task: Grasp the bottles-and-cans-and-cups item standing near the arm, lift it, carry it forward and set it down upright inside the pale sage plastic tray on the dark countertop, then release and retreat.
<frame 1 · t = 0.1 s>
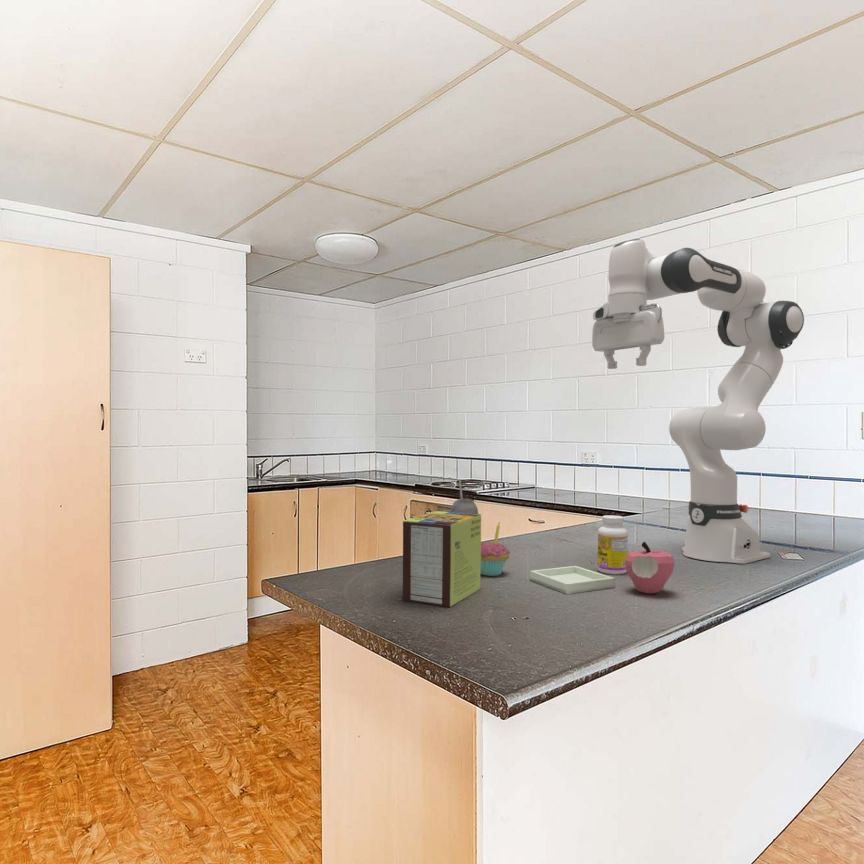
hand: (626, 367, 151), 48 cm above the worktop, fingers open, 8 cm apart
tray: (571, 583, 135), on the worktop
apple: (649, 593, 129), on the worktop
supplement bottle: (612, 572, 147), on the worktop
protein box: (442, 595, 126), on the worktop
cupcake: (490, 574, 144), on the worktop
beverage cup: (463, 561, 157), on the worktop
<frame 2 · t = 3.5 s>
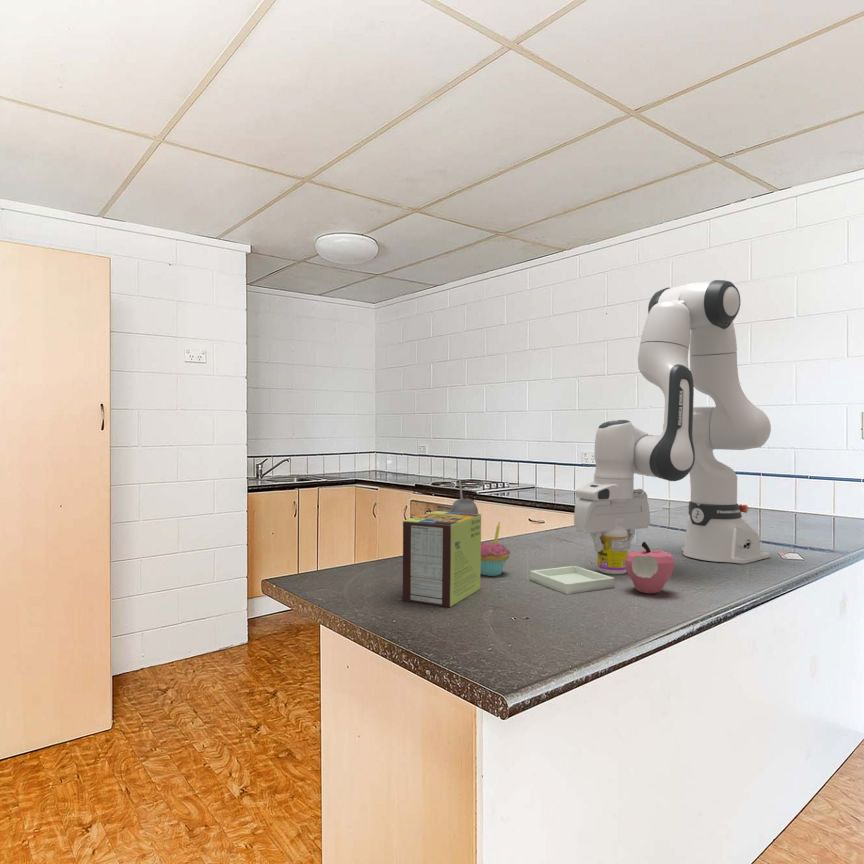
hand: (612, 549, 147), 5 cm above the worktop, fingers closed on supplement bottle, 7 cm apart
supplement bottle: (612, 572, 147), on the worktop, touching gripper
everything else where it was.
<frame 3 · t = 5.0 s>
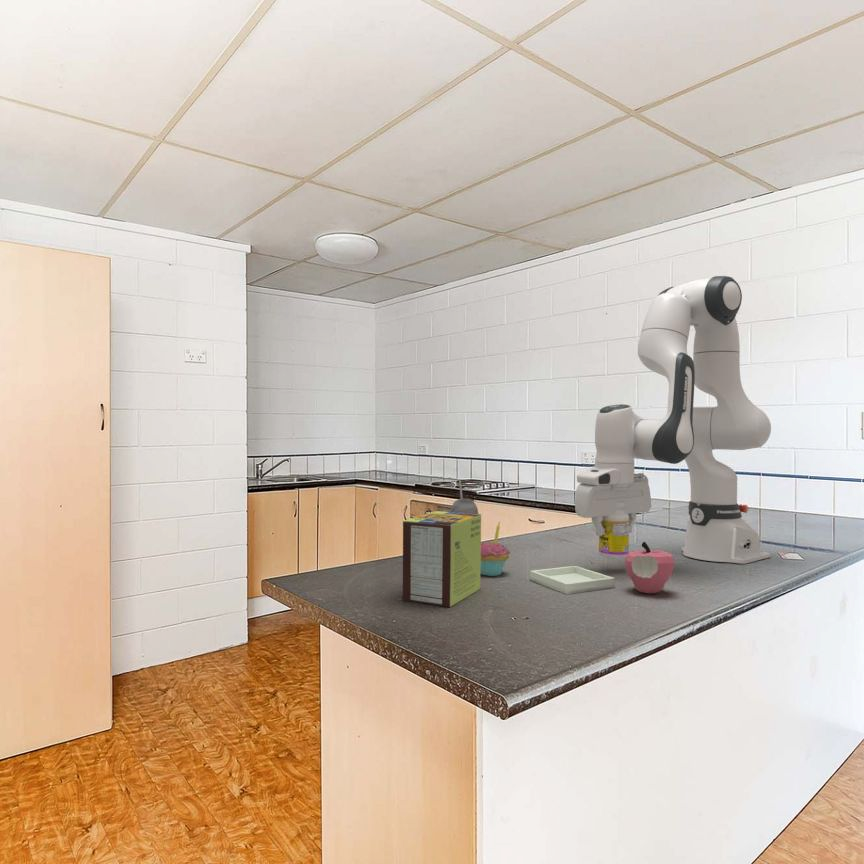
hand: (614, 534, 147), 9 cm above the worktop, fingers closed on supplement bottle, 7 cm apart
supplement bottle: (613, 557, 148), point 3 cm above the worktop, touching gripper
everything else where it was.
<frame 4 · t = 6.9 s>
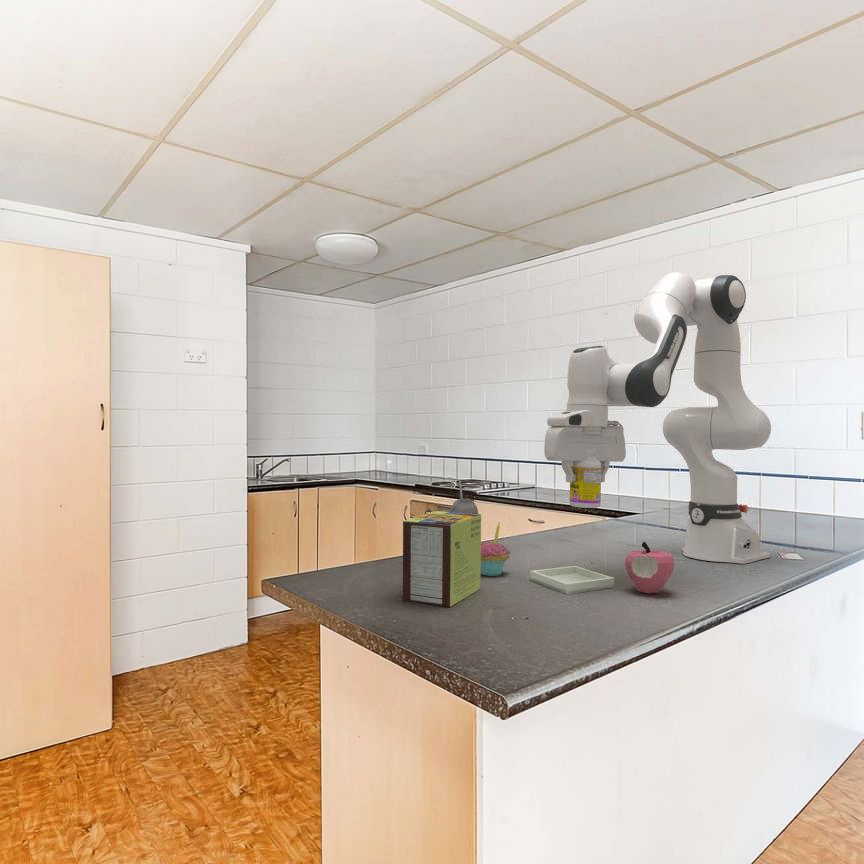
hand: (585, 482, 139), 21 cm above the worktop, fingers closed on supplement bottle, 7 cm apart
supplement bottle: (584, 507, 139), point 16 cm above the worktop, touching gripper
everything else where it was.
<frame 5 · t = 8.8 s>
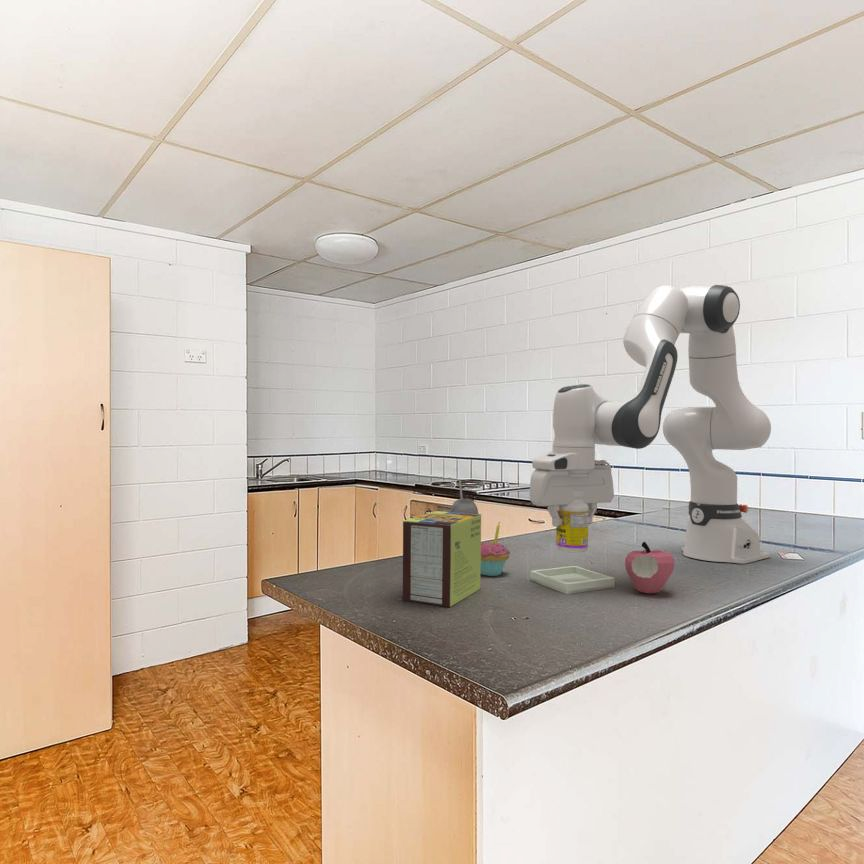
hand: (572, 525, 135), 13 cm above the worktop, fingers closed on supplement bottle, 7 cm apart
supplement bottle: (571, 551, 135), point 7 cm above the worktop, touching gripper
everything else where it was.
when the fingers open (7 cm above the worktop, at t = 10.3 s): supplement bottle drops 1 cm, resting on tray.
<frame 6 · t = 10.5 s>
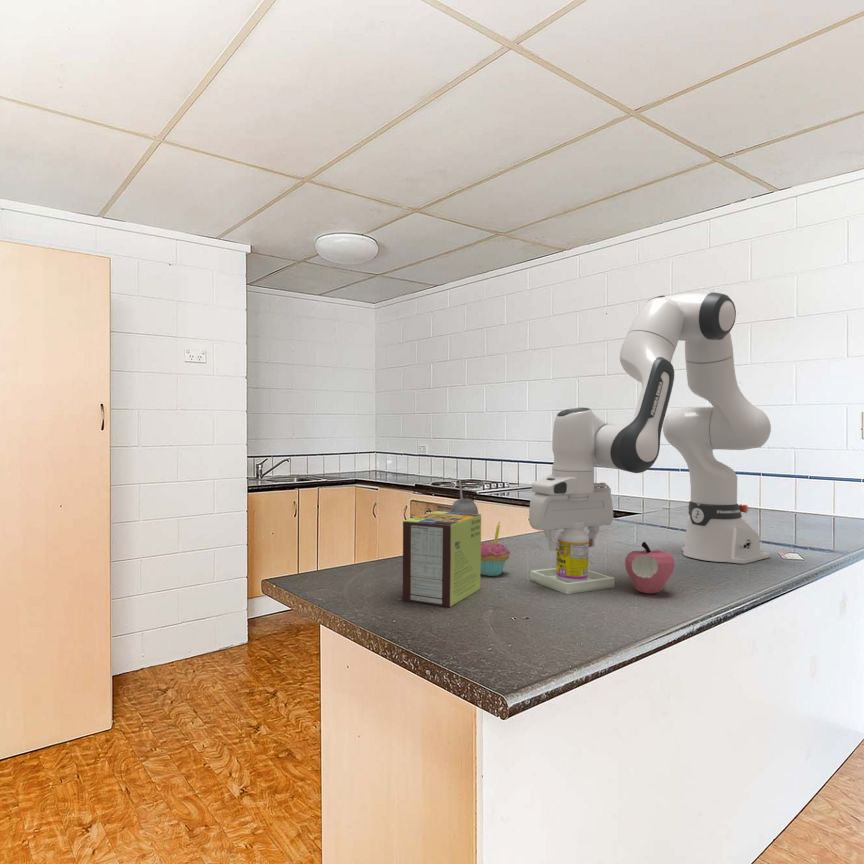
hand: (571, 548, 135), 8 cm above the worktop, fingers open, 8 cm apart
supplement bottle: (571, 581, 136), resting on tray
everything else where it was.
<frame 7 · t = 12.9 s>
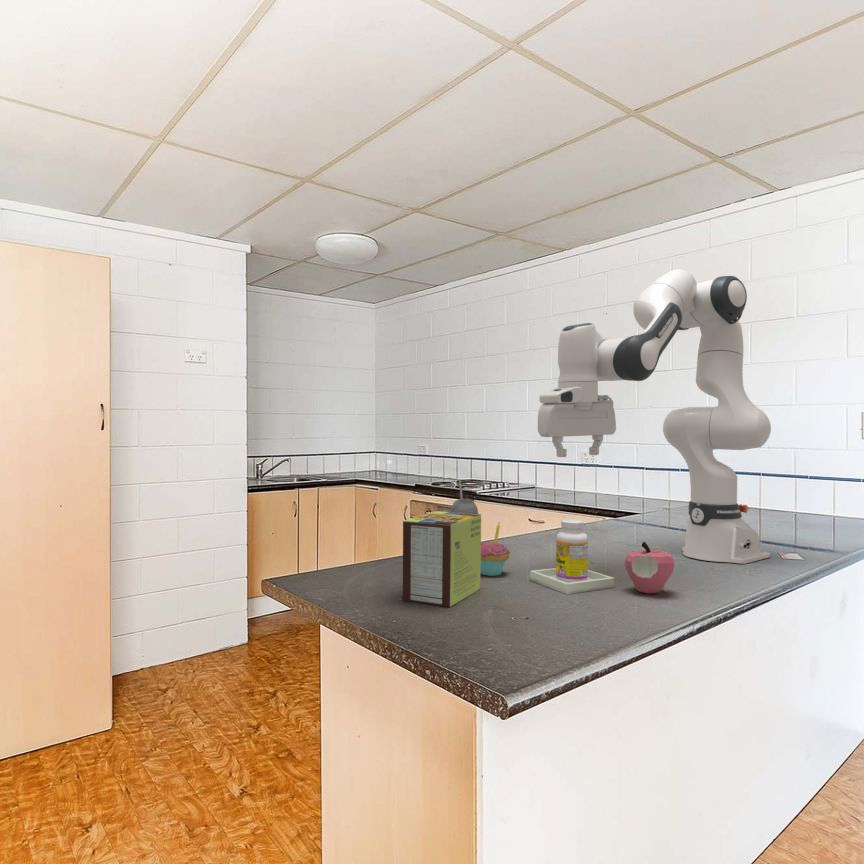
hand: (578, 455, 144), 27 cm above the worktop, fingers open, 8 cm apart
nothing on the worktop moved.
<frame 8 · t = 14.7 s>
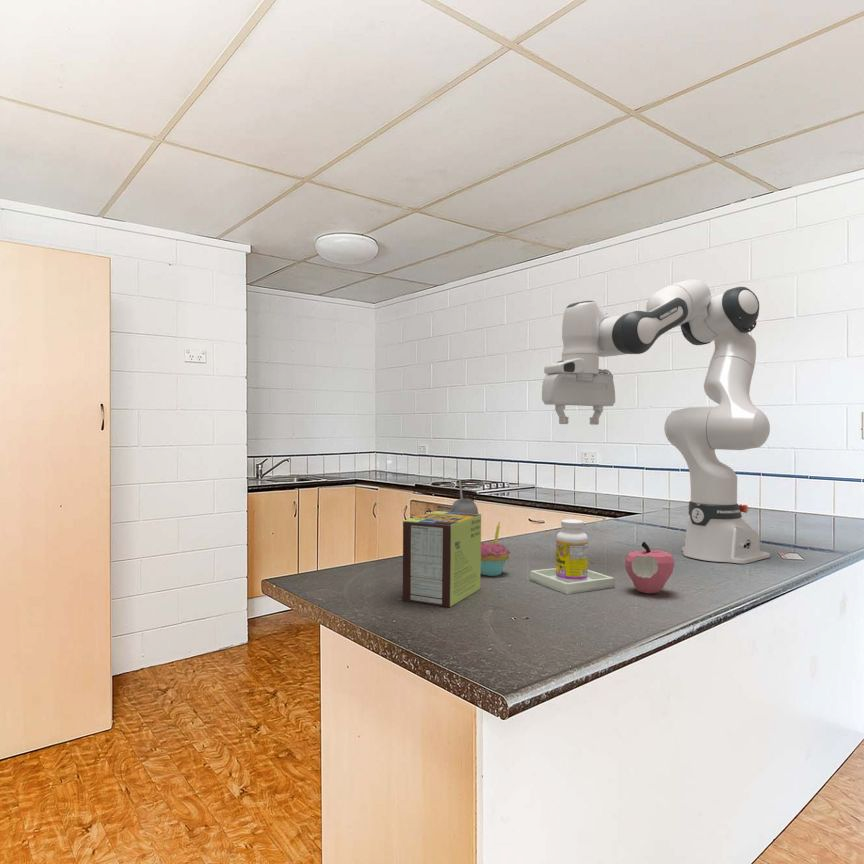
hand: (579, 424, 155), 34 cm above the worktop, fingers open, 8 cm apart
nothing on the worktop moved.
at the end: supplement bottle inside the target area on the tray (0.1 cm from its centre), point 0.4 cm above the tray's base; supplement bottle tilted 0°; the gripper is holding nothing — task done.
